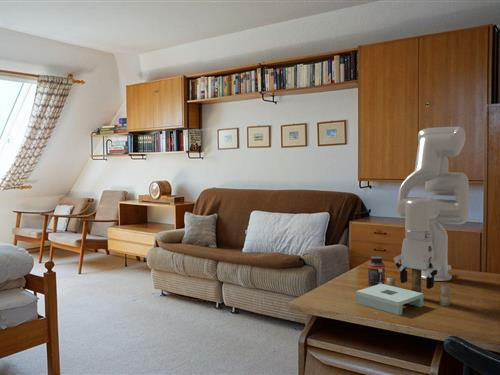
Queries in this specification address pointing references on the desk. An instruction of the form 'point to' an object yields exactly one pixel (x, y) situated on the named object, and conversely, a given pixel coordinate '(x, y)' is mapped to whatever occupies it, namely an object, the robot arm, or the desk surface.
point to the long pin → (416, 280)
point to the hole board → (388, 298)
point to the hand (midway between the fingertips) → (416, 285)
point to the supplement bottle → (376, 271)
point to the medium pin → (444, 295)
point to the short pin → (391, 281)
